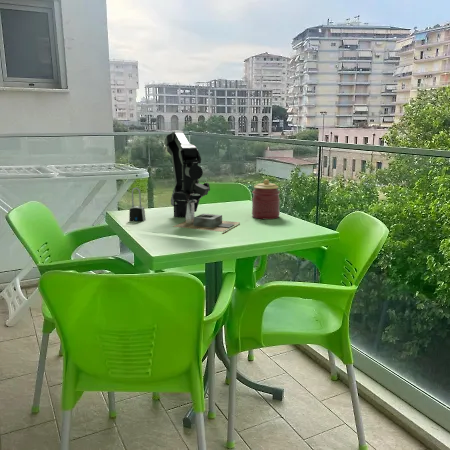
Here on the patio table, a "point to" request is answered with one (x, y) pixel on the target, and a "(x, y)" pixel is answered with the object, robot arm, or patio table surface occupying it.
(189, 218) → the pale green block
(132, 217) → the padlock
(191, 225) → the chuck stand
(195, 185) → the robot arm
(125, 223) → the patio table surface
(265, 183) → the canister
